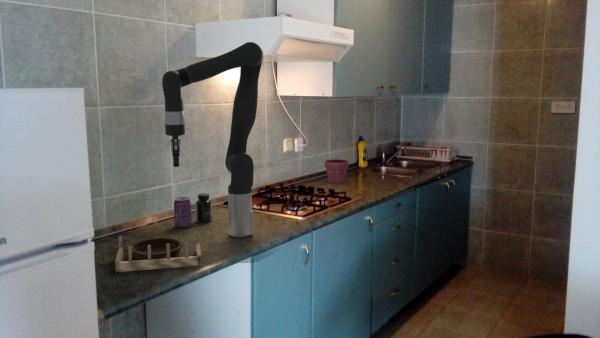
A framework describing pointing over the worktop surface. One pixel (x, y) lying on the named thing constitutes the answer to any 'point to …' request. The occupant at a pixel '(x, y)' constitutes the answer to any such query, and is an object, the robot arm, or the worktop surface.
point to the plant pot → (336, 170)
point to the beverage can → (182, 212)
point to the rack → (157, 263)
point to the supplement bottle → (203, 209)
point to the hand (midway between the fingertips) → (176, 166)
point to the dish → (156, 248)
